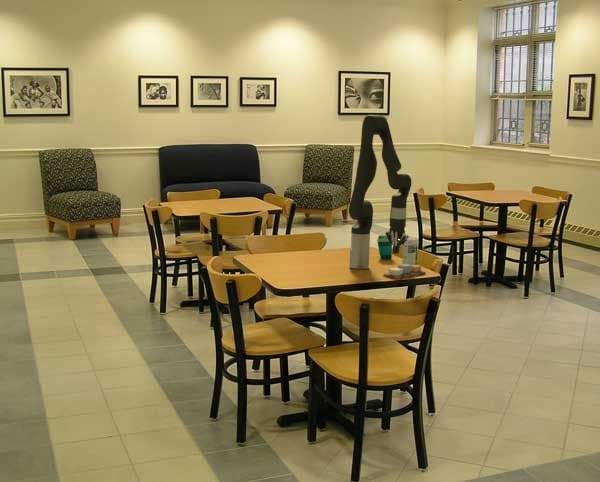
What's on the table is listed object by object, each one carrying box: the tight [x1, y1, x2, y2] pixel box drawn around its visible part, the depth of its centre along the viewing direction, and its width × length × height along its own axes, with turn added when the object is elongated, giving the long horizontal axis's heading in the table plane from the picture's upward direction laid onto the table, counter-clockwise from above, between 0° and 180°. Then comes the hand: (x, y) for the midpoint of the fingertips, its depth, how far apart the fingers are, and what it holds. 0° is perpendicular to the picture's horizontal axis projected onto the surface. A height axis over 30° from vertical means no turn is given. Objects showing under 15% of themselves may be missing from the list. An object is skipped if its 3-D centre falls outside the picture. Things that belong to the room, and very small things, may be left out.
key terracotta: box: [411, 264, 422, 273], centre depth 386 cm, size 5×5×4 cm
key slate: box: [397, 263, 412, 274], centre depth 382 cm, size 5×5×4 cm
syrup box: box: [401, 237, 419, 265], centre depth 401 cm, size 6×6×14 cm
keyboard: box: [383, 270, 427, 281], centre depth 382 cm, size 20×9×1 cm, turn 131°
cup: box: [376, 234, 393, 261], centre depth 420 cm, size 8×8×12 cm
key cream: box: [387, 267, 403, 276], centre depth 378 cm, size 5×5×4 cm
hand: (395, 253), depth 376 cm, fingers closed
